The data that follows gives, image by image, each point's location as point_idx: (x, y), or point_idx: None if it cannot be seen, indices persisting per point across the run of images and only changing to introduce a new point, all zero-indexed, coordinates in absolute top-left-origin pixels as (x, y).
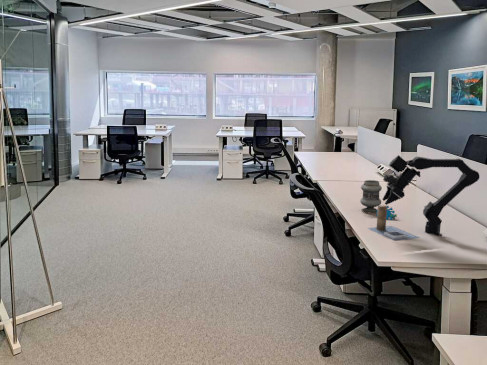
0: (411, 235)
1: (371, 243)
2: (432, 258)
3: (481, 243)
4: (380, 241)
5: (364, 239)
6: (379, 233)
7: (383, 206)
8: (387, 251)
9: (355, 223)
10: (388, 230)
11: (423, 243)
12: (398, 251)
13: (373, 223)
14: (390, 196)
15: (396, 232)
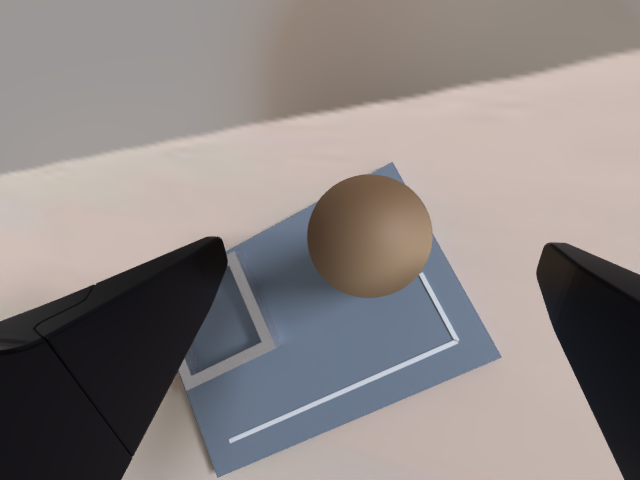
0: (260, 434)
1: (136, 172)
2: None
3: None
4: (171, 222)
5: (196, 141)
6: (276, 229)
7: (360, 246)
8: (36, 234)
9: (570, 93)
10: (357, 302)
11: (160, 463)
12: (37, 285)
13: (609, 230)
14: (24, 327)
15: (263, 338)
